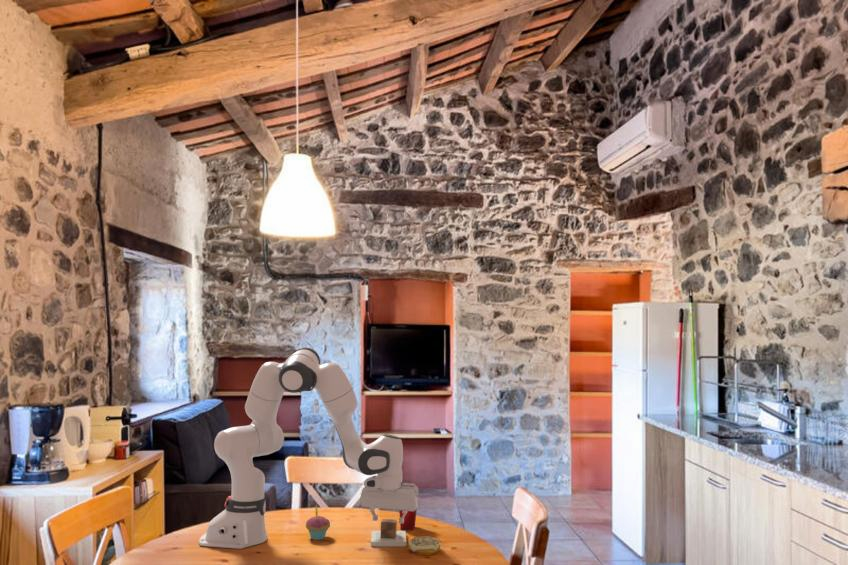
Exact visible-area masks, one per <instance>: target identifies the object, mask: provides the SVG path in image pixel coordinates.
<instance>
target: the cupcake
mask: <svg viewBox="0 0 848 565" xmlns="http://www.w3.org/2000/svg"><path fill="white" fill-rule="evenodd" d="M318 511H319V510H318V505H317V504H315V516H313V517H310V518H308V519H307V521H306V522H305V528H306V529H307V530H308V532H309V537H310V539H312V540H314V541H315V540H316V541H317V540H319V541H320V540H323V539H325V537H326V533H327V531H328V530H329V528H330V527H331V523H330V520H329V519H327V518H326V517H325V516H322V515H321V516H320V515H318V513H319V512H318Z"/></svg>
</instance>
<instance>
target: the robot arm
mask: <svg viewBox="0 0 848 565" xmlns="http://www.w3.org/2000/svg"><path fill="white" fill-rule="evenodd" d="M314 389H315V391H317V393H318V395H319V398H320V399H321V403H322V404H323V406H324V408H325V410H326V411H327V413H328V414H329V415H328V416H330V418H331V421H332V423H333V425H334V428H335V431H336V433H337V435H338V438H339V440H340V443H341V446H342V459H343V462H344V464H345V465H346V467H347V468H349V469H351V470H355V471H357V472H359V473H361V474H362V475H364V476H369V477H367V478H366V479H365V480H364V481H363V486H364V487H362V489H361V492H360V496H359V497H360V500H359V504H360V506H361V507H362V508H369V512H370V514H371V516H372V521H373V522H377V521H379V514H377V513H376V511H375V510H376V509H382V510H383V509H384V510H391V511H399V510H402V514H403V516H402V517H400V516H399V518H398V524H400V523H404V517H405V515H406V514H407V511H415V510H416V509H417V510H418V507H419V505H418V501H419V500H418V501H417V499H418V495H419V487H418V485H416V484H415V483H412V482H411V483H408V482H403V469H402V467H403V461H404V445H403V441H402V439H401V438H400V437H399V436H396V435H393V434H392V435H391V434H387V433H386V434H385V433H384V434H381V435H380V436H379V438H377V439H376V440H374V441H373V442H371V443H368V444H367V443H366V442H364V441H363V440H362V439H361V438H360V437H359V435H358V432H357V430H356V427H355V425H354V422H353V419H352V415H353V414H354V413H355V411H356V410H357V408H358V399H357V396H356V392H355V390H354V388H353V386H352V384H351V382H350V380H349V379H348V376H347V375H346V373H345V372H344V370H343V369H342V367H341V366H340V365H339V364H338V363H336V362H326V363H322V364H321V357H320V356H319V353H318V352H317V351H316V350H315V349H313V348H311V347H300V348H298V349H296V350H294V351H293V352H292V353H291V354H290V355H288V356H287V357H286V358H285V359H284V362H281V363H279V362H276V361H267V362H264V363H263V364H262V365H261V366H260V368H259V369H258V371H257V373H256V374H255V377H254V379H253V381H252V384H251V387H250V389H249V392H248V395H247V399H246V402H245V404H244V410H245V413H246V415H247V416H248V418H249V419H251V420H252V421H251V423H250V424H248V425H241V426H240V425H239V426H231V427H229V428H226V429H223V430H221V431H219V432H218V433H217V434H216V437H215V438H214V442H213V443H214V444H213V448H214V451H215V454H216V455H217V457H218V458H219V459H221V460H222V461H223V462H225V464H226V465H227V467H228V470H229V472H230V477H231V493H230V494H231V495H228V497H226V499H225V501H224V502H225V503H224V510H222V511H221V512H220V513H219V514H217V515H216V516H214V517H213V518H212V519H211V520H210V522H209V523H208V525H207V528H206V532H205V533H203V534H202V535H201V536H200V537H199V539H198V545H199V546H200V547H201V546H202V547H211V548H212V547H214V548H223V549H224V548H225V549H226V548H227V549H245V548H247V547H252V546H256V545H260V544H262V543H264V542H266V541H267V540H268V535H267V530H266V523H265V522H266V520H265V514H266V505H267V503H266V502H267V501H266V496H265V490H266V489H265V488H266V487H265V485H266V483H265V482H266V476H265V474H264V472H263V471H262V470H261V469H259V468H258V467H255V465H254V461H253V458H255V457H261V456H268V455H270V454H273V453H275V452H278V451H280V450H281V448H282V447H283V445H284V442H285V435H284V431H283V429H282V427H280V425H279V424H278V423H277V416H278V411H279V409H280V405H281V401H282V398H283V397H284V392H287V393H293V394H296V393H297V394H298V393H301V392H302V393H303V392H311V391H313V390H314Z"/></svg>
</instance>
